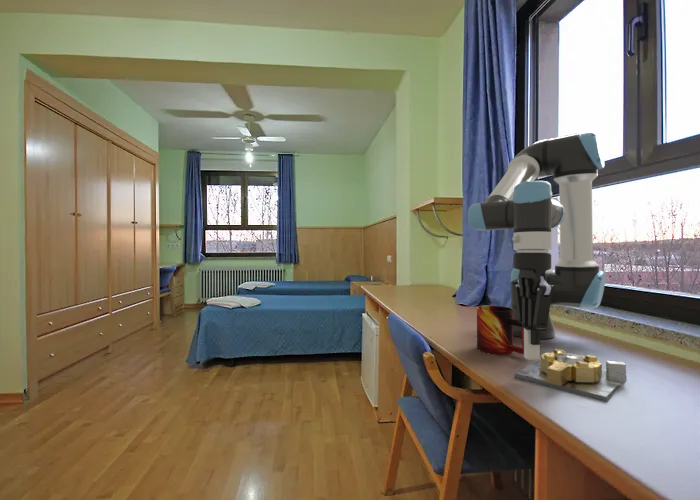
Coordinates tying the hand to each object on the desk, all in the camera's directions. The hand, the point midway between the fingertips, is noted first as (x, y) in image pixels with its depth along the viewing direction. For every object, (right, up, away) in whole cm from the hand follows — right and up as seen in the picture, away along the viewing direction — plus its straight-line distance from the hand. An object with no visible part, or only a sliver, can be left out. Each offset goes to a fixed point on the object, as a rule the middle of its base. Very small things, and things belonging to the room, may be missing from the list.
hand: (531, 358), depth 77 cm
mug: (+3, -5, +22) cm, 23 cm away
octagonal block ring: (+7, -3, -1) cm, 8 cm away
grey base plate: (+9, -5, 0) cm, 10 cm away
